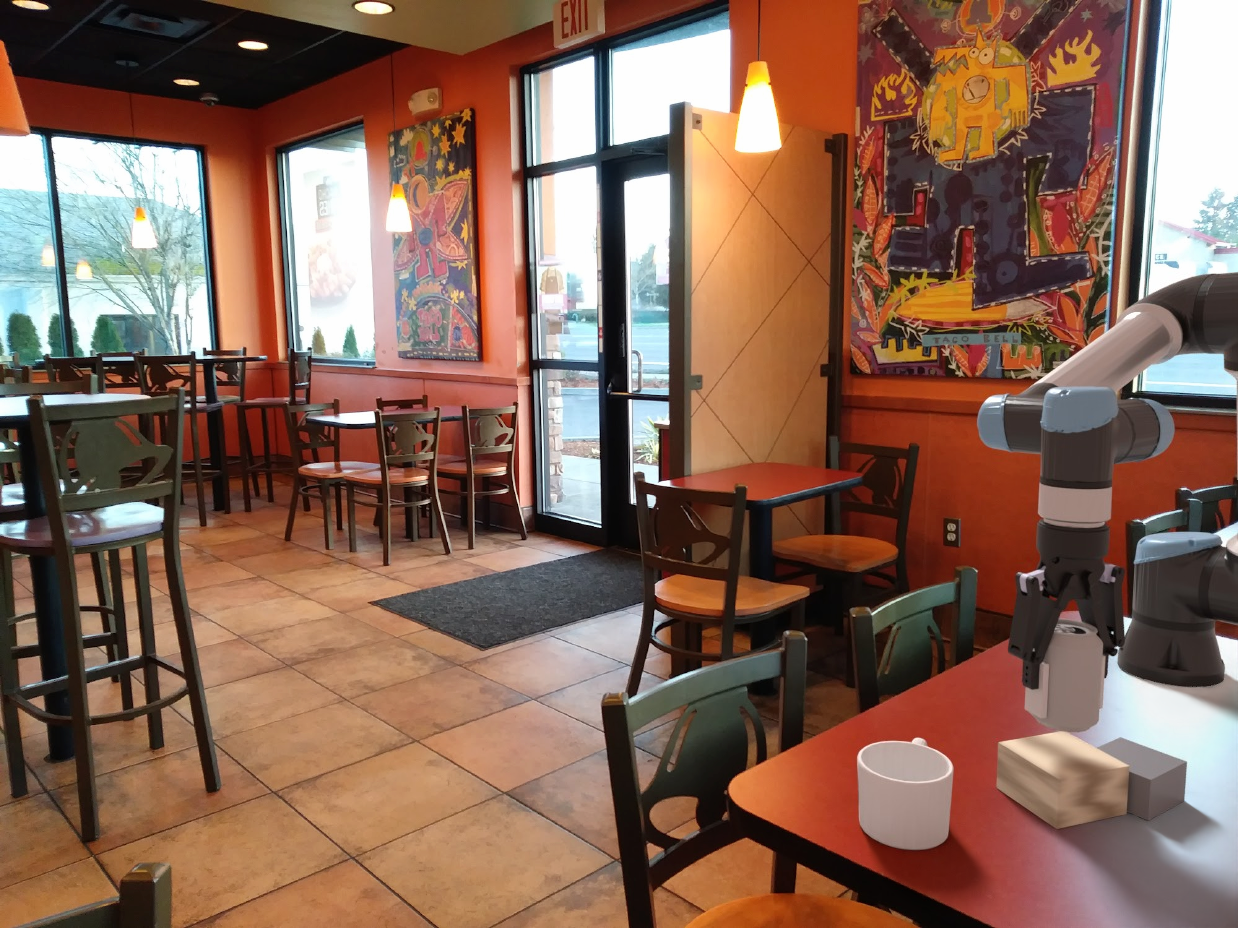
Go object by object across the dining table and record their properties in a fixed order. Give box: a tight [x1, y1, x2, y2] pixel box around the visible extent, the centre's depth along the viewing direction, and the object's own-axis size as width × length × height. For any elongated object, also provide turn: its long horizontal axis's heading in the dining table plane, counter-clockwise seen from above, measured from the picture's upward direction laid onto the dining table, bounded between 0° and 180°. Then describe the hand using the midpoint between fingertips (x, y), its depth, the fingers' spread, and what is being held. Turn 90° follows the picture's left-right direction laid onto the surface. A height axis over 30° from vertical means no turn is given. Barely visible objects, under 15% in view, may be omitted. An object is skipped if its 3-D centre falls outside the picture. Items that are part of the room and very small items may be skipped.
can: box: [1029, 618, 1103, 733], centre depth 106 cm, size 8×8×12 cm
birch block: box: [995, 731, 1129, 830], centre depth 108 cm, size 10×10×6 cm
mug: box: [856, 737, 955, 851], centre depth 104 cm, size 13×10×8 cm
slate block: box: [1096, 736, 1188, 821], centre depth 108 cm, size 8×8×5 cm
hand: (1063, 708), depth 107 cm, fingers closed on can, 7 cm apart
